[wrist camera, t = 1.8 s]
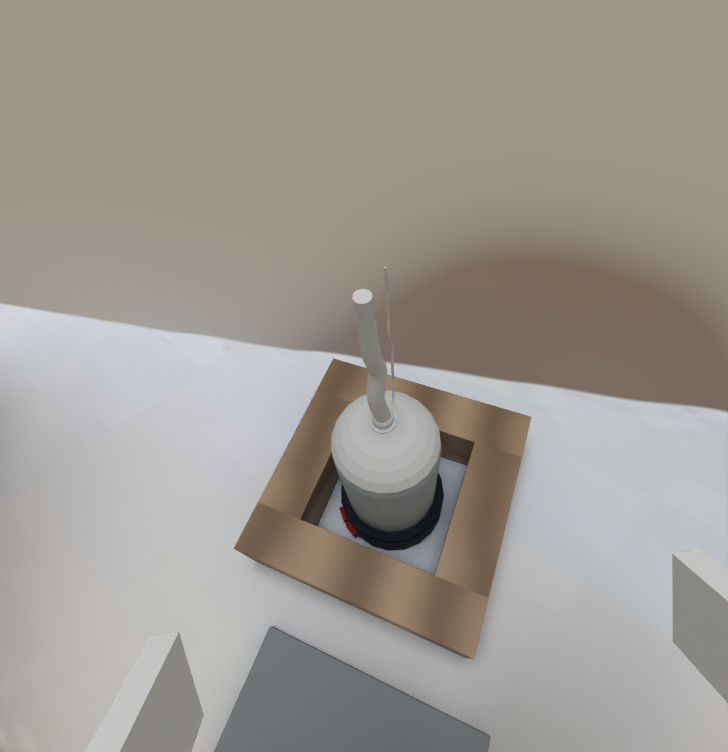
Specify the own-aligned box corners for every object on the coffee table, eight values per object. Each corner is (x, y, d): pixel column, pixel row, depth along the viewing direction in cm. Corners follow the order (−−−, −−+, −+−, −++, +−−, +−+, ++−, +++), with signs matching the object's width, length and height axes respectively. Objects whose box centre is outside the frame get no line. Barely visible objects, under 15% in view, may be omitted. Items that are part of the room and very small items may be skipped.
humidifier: (327, 525, 36) (205, 346, 15) (368, 439, 39) (320, 198, 18) (420, 569, 33) (436, 432, 12) (455, 474, 37) (514, 242, 16)
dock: (255, 560, 35) (233, 548, 31) (341, 387, 43) (333, 358, 38) (464, 657, 30) (473, 658, 26) (518, 442, 38) (531, 417, 34)
